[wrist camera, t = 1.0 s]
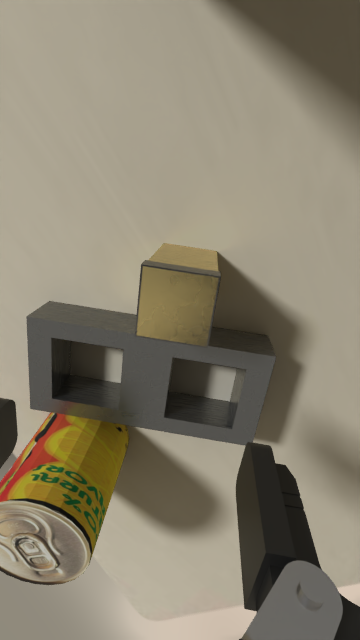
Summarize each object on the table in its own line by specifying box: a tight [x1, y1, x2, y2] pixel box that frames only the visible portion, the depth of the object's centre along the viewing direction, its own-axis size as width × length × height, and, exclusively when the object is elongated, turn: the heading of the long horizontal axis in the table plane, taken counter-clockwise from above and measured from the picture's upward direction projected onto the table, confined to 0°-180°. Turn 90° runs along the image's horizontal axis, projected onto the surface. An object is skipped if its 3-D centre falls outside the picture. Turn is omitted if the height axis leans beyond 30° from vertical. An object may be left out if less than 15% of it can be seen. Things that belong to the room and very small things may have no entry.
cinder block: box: [27, 301, 276, 446], centre depth 30 cm, size 9×20×4 cm, turn 82°
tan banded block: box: [135, 243, 221, 348], centre depth 24 cm, size 5×5×9 cm
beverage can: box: [0, 412, 129, 585], centre depth 30 cm, size 9×9×12 cm
